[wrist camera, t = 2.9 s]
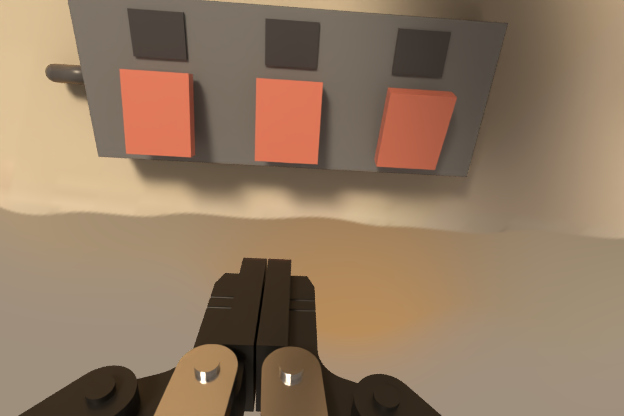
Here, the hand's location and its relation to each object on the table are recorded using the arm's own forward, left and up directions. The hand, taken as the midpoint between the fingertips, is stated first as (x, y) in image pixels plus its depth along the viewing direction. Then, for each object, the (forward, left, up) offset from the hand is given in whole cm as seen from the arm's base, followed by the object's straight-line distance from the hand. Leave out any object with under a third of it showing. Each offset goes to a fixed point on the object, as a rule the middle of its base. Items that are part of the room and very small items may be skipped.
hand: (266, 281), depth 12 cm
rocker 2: (-1, -1, -14) cm, 14 cm away
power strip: (-1, -3, -19) cm, 19 cm away
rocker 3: (-7, +4, -14) cm, 16 cm away
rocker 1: (+5, -6, -14) cm, 16 cm away
